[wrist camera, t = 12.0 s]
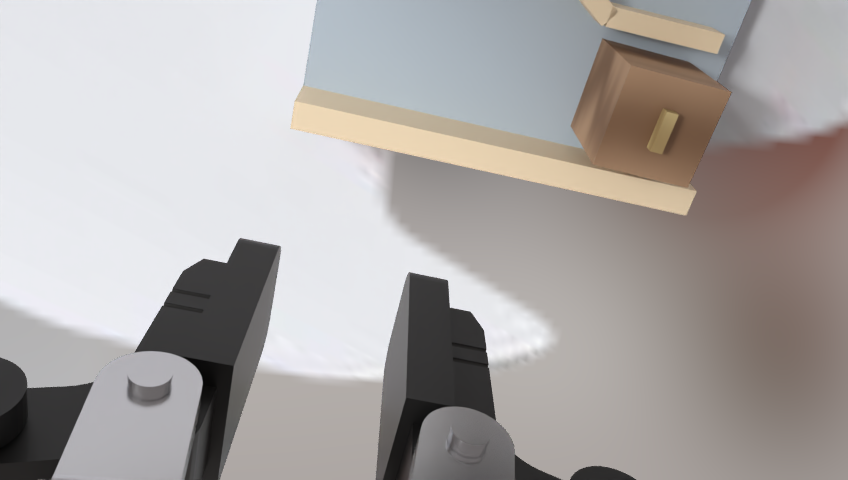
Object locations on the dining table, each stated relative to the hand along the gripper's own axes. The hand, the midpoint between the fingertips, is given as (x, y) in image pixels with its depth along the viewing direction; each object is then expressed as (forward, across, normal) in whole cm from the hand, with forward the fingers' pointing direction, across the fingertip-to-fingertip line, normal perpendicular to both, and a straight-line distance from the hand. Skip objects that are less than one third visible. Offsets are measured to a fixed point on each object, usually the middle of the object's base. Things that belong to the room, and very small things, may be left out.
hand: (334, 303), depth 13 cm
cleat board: (+29, -7, 0) cm, 30 cm away
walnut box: (+28, -14, +1) cm, 31 cm away
